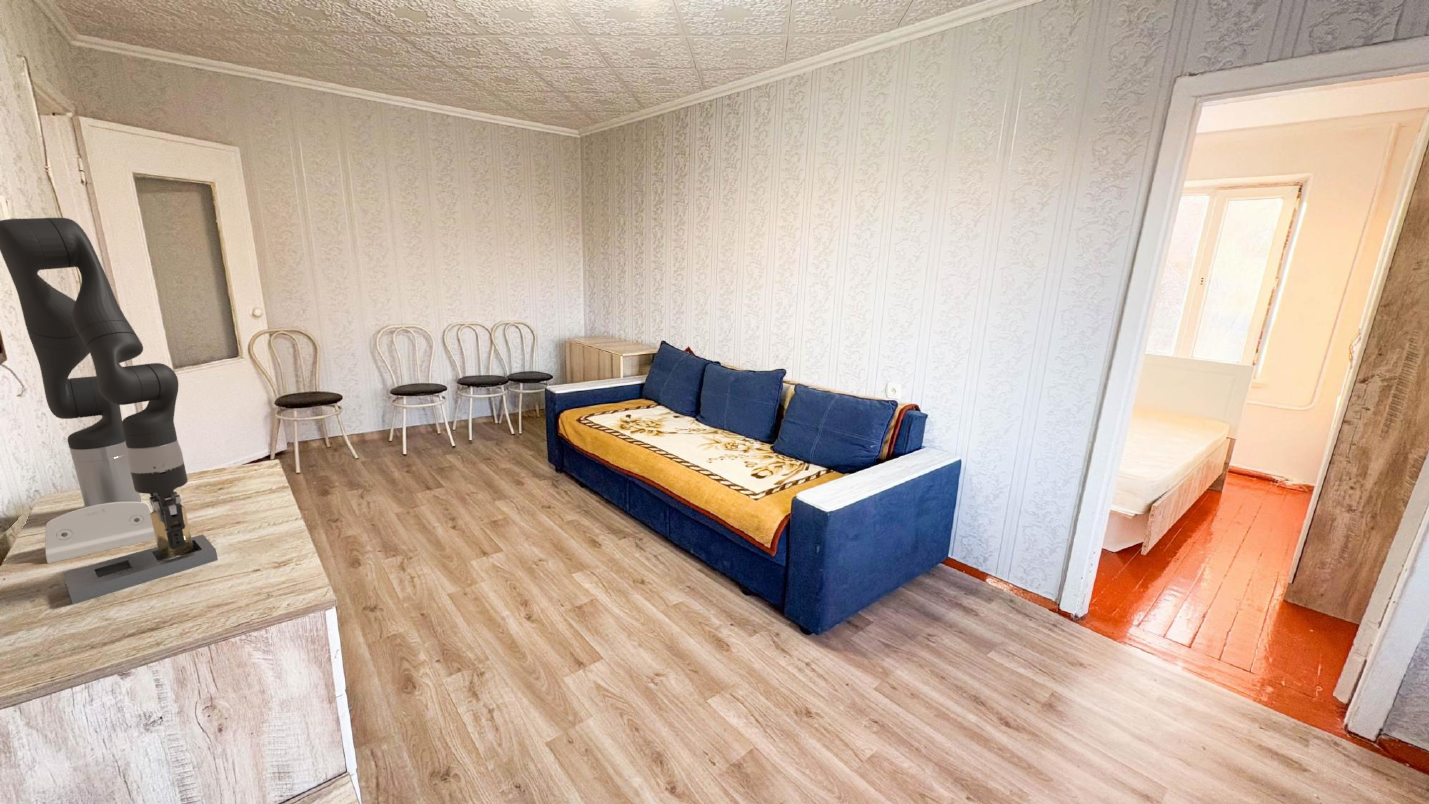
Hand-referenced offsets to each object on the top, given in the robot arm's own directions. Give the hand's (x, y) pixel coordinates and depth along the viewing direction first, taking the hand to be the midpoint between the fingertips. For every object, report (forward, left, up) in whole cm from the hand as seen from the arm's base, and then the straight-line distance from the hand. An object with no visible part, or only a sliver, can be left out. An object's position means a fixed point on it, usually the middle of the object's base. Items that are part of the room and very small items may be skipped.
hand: (174, 542), depth 112 cm
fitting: (0, 0, -2) cm, 2 cm away
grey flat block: (0, -5, -4) cm, 7 cm away
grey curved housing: (-21, -8, -5) cm, 23 cm away
